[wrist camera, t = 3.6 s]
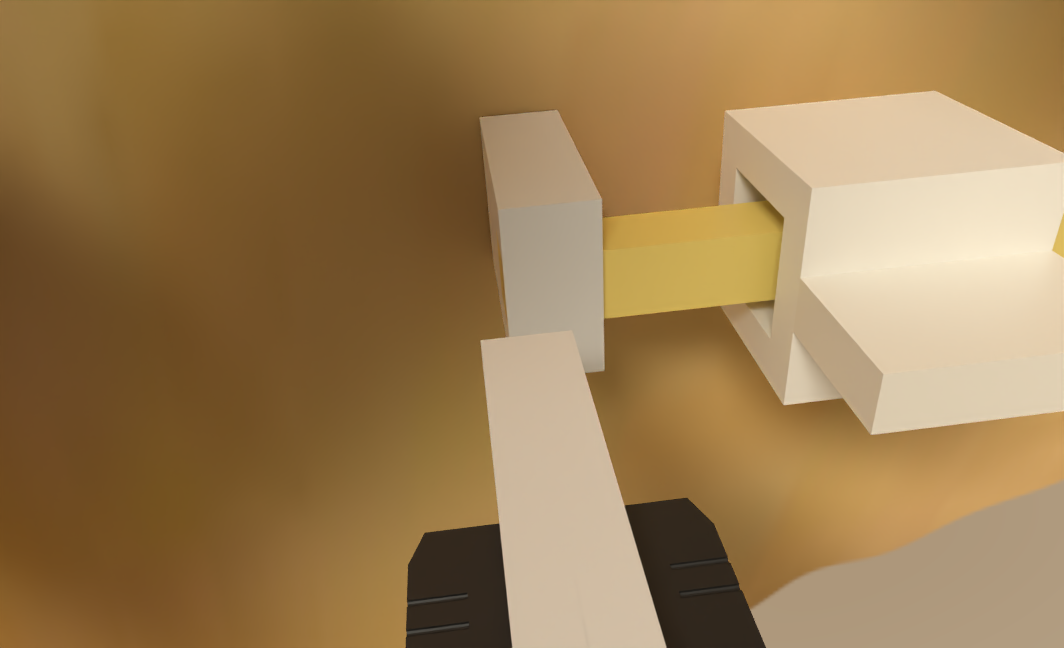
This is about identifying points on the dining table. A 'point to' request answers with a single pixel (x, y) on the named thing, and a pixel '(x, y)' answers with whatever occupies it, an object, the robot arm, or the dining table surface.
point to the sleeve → (904, 259)
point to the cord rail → (610, 242)
